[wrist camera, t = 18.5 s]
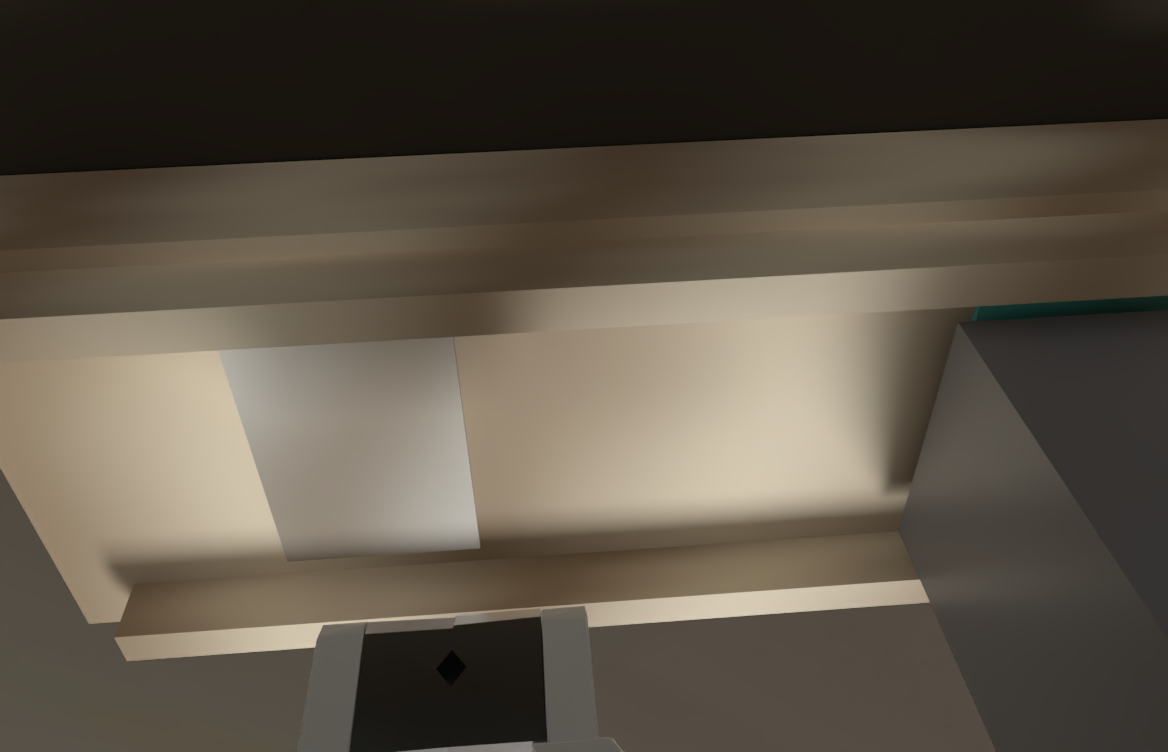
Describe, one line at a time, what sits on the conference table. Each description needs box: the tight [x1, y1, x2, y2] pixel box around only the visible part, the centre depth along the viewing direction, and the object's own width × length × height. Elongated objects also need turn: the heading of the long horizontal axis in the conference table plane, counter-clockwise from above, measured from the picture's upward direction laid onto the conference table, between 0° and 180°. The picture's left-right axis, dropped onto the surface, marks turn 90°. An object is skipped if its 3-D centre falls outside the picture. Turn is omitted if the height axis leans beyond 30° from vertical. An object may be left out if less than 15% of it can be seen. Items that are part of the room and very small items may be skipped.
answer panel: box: [0, 119, 1168, 661], centre depth 14 cm, size 30×7×3 cm, turn 91°
